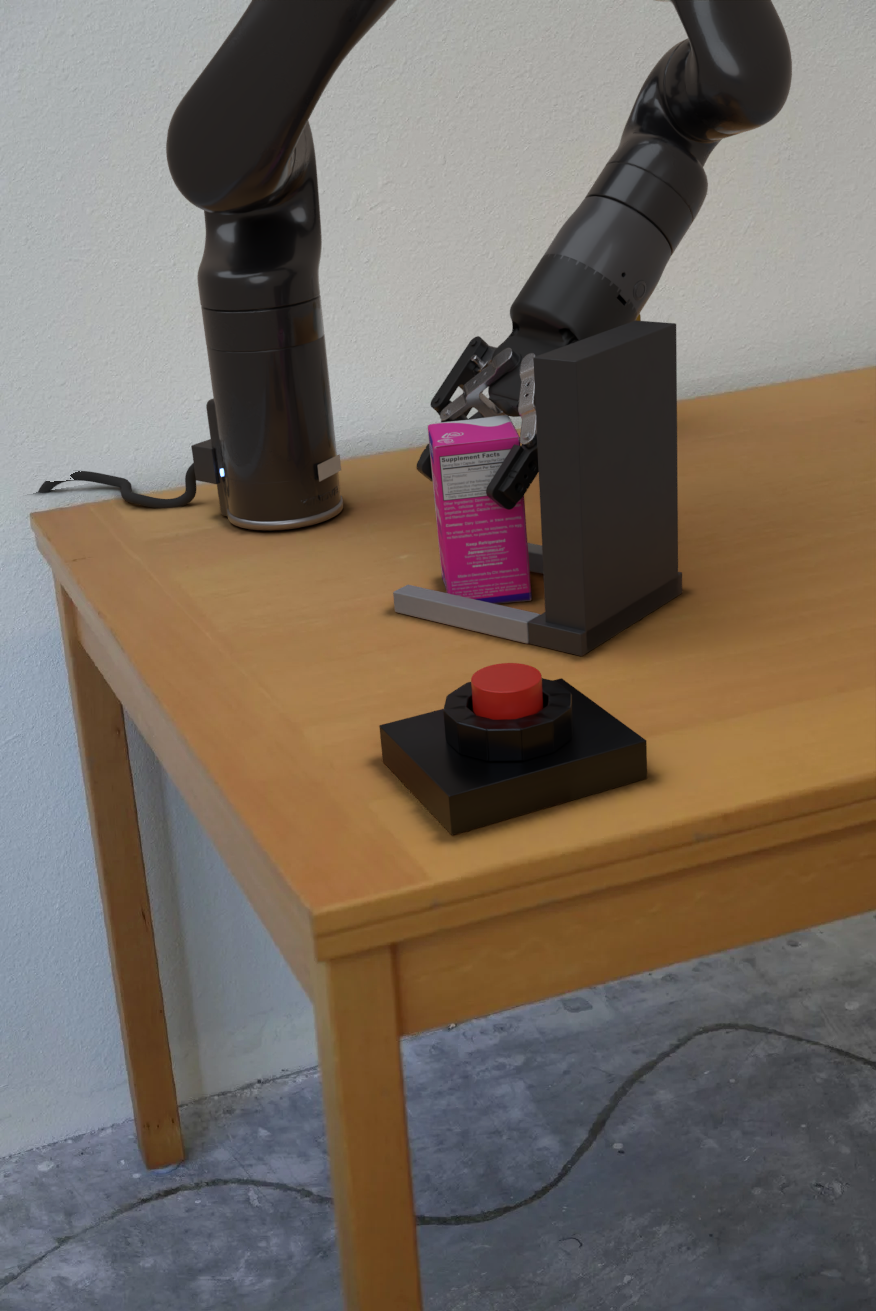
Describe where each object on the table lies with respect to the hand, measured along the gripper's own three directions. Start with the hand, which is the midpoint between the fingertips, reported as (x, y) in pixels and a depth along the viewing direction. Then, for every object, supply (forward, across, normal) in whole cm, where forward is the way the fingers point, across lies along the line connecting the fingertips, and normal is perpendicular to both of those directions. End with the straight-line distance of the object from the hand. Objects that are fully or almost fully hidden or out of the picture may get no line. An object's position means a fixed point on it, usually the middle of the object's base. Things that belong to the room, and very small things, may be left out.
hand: (461, 489), depth 98 cm
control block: (+14, +22, -4) cm, 27 cm away
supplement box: (+4, 0, +6) cm, 8 cm away
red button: (+12, +22, -6) cm, 26 cm away
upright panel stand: (+3, +5, +7) cm, 9 cm away
